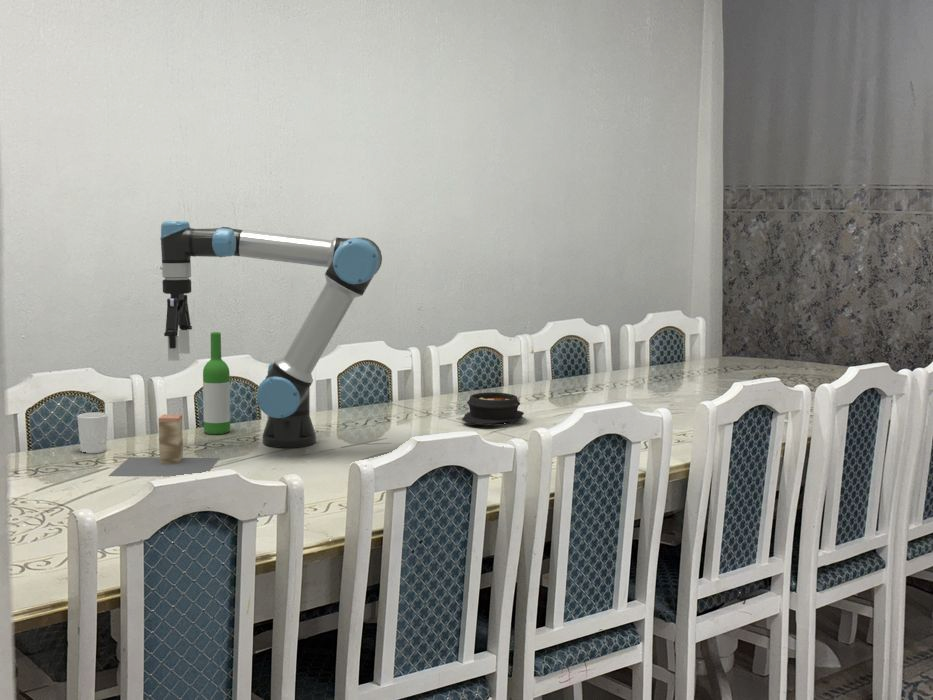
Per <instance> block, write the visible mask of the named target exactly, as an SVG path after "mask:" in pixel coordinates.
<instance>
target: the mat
mask: <svg viewBox="0 0 933 700" xmlns="http://www.w3.org/2000/svg"><path fill="white" fill-rule="evenodd" d="M220 459H221V457H183V459H182V461H181V462H180V463H160V462H159V456H158V457H154V456H153V457H150V456H148V457H143V456H140V457H139V456H137V457H134V456H132V457H131V456H129V457H128V458H127V459H125V460H124V461H123V462H122V463H121V464H120V465H119V466H118V467H116V468H115V469H114V470H113V471H112V472H111V473H110V474H109V475H108V477H161V476H162V477H166V478H167V477H169V478H170V476H176V475H184V474H192V473H202V472H206V471H211V470H213V468H214V467H215V465H216V464H217V462H218V461H219V460H220Z"/></svg>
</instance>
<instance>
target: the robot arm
mask: <svg viewBox="0 0 933 700" xmlns="http://www.w3.org/2000/svg"><path fill="white" fill-rule="evenodd" d="M160 248H161V249H160V250H161V265H160V267H159V270H162V272H161V273H162V277H163V278H164V279H163V280H162V281H161V282H162V283H161V284H162V293H163V294H165V295H166V294H167V295H170V297H169V298H167V300H166V302H167V303H166V305H167V306H166V319H165V321H166V322H165V331H164V333H163V335H164V337H167V355H168V357H167V358H168V359H167V360H168V361H171V362H172V361H173V362H174V361H180V355H181V354H182V355H183V354H184V355H185V354H186V355H187V354H191V353H190V350H191V349H190V330H192V329H193V326H192V325H191V324H192V323H191V319H190V311H189V304H188V294H190V293H192V280H191V279H190V278H191V277H192V264H191V263H192V262H191V257H205V258H206V257H209V258H210V257H211V258H212V257H213V258H214V257H215V258H216V257H217V258H225V257H232V256H233V257H243V258H250V259H259V260H267V261H275V262H283V263H292V264H299V265H308V266H316V267H325V268H327V269H326V271H325V273H324V277H325V281H326V283H325V284H324V286H323V288H322V290H321V291H320V293H319V295H318V297H317V299H316V300H315V302H314V304H313V305H312V307H311V309H310V311H309V312H308V314H307V316H306V317H305V319H304V321H303V323H302V325H301V327H300V328H299V330H298V332H297V334H296V336H295V337H294V338H293V341H292V342H291V344H290V345H289V348H288V349H287V351H286V353H285V355H284V357H281V358H278V359H276V360H275V361H274V362H273V363H271V364H270V363H269V364H268V368H267V374H266V377H265V379H263V380H262V381H261V382H260V384H259V385H258V387H257V390H256V403H257V405H258V407H259V409H260V410H261V411H262V413H264V414H265V415H266V416H267V421H266V424H265V427H264V430H263V433H262V445H265V446H268V447H272V448H273V447H274V448H282V449H283V448H286V449H287V448H289V449H290V448H291V449H292V448H301V447H307V446H311V445H314V444H315V443H316V442H317V434H316V431H315V429H314V425H313V421H312V419H311V415H310V413H311V412H310V411H311V410H310V409H311V407H310V406H311V405H310V402H311V401H310V400H311V399H310V398H311V397H310V396H311V394H310V391H311V388H310V387H311V386H312V384H313V382H314V379H313V375H312V373H313V371H314V368H315V367H316V366H317V363H318V362H319V361H320V359H321V357H322V356H323V354H324V351H325V350H326V349H327V347H328V345H329V343H330V342H331V340H332V337H334V334H335V333H336V331H337V330H338V328H339V326H340V324H341V322H342V321H343V319H344V316H346V313H347V312H348V310H349V308H350V306H351V305H352V303H353V301H354V300H355V299H356V298H359V297H362V296H363V295H364V294H365V292H366V290H367V288H368V287H369V285H370V283H371V281H372V280H373V278H374V276H375V275H376V274H377V273H378V272H379V270H380V269H381V266H382V262H383V256H382V251H381V249H380V247H379V246H378V244H376V243H375V241H373V240H372V239H369V238H367V237H354V238H353V237H352V238H351V237H350V238H347V237H346V238H345V237H334V238H333V239H332V240H331V239H322V238H316V237H315V238H314V237H307V236H305V237H304V236H298V235H297V236H296V235H289V234H282V233H272V232H264V231H255V230H247V229H238V228H232V227H230V226H229V227H228V226H221V227H215V228H193V227H192V228H191V226H190V223H189V221H187V220H186V221H185V220H167V221H166V220H165V221H163V222H162V223H161V226H160Z"/></svg>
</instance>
